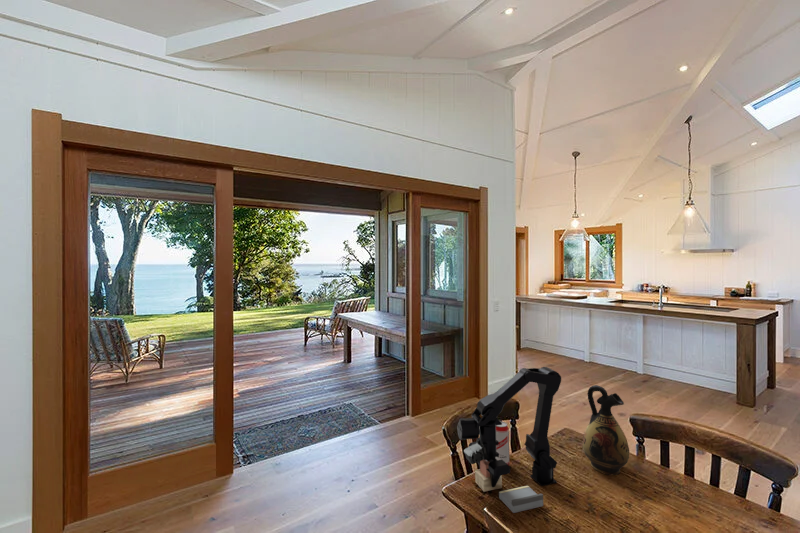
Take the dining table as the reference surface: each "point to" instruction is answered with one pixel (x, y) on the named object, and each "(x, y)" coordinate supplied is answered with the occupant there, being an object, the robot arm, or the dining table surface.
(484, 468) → the block
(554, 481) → the robot arm
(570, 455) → the dining table surface
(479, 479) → the beige slotted block
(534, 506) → the dock
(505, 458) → the beer can
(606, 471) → the ceramic jug
